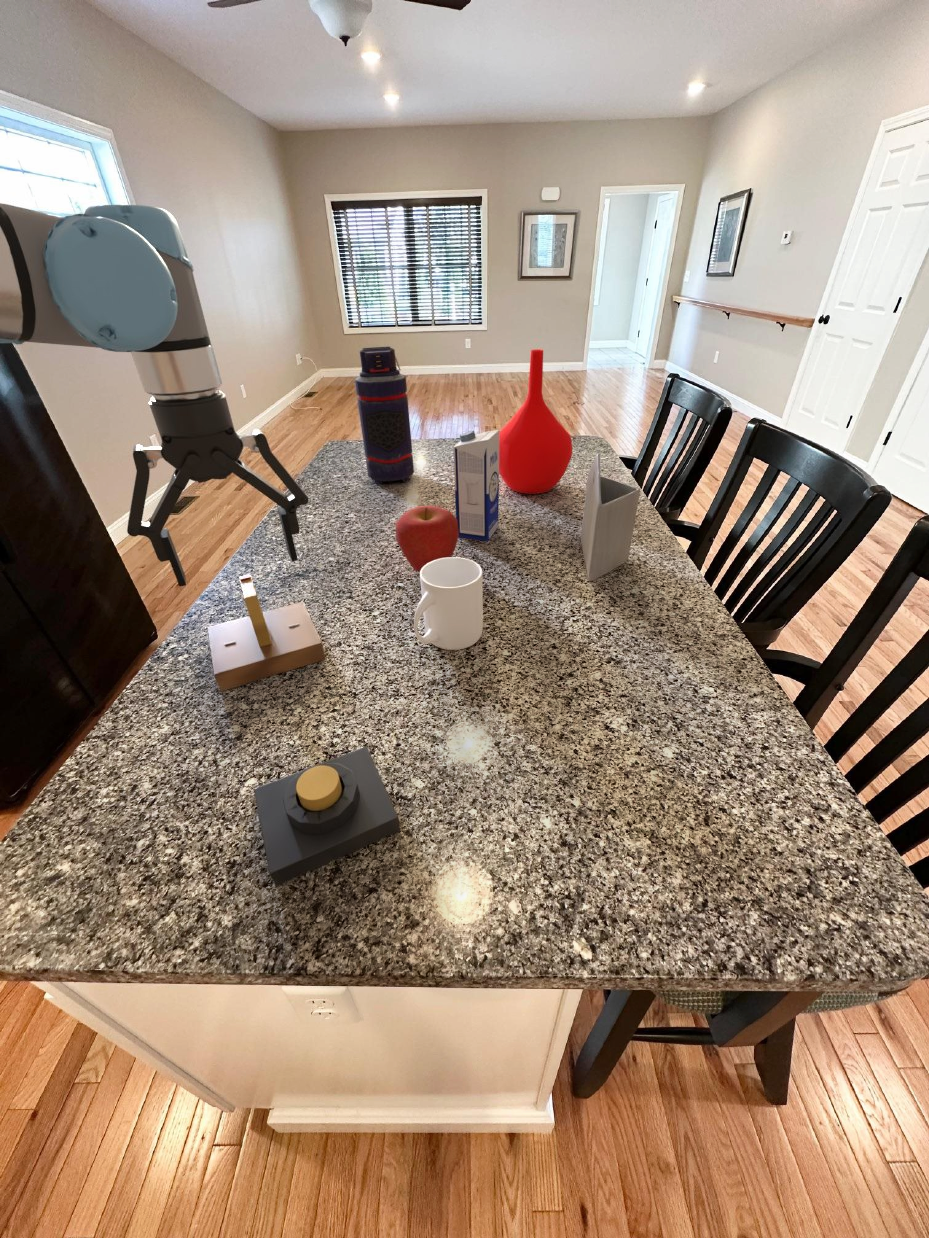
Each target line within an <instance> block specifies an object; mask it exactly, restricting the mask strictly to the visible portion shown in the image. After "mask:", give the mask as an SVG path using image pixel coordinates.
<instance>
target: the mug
mask: <svg viewBox="0 0 929 1238" xmlns="http://www.w3.org/2000/svg"><path fill="white" fill-rule="evenodd" d="M419 580H420V592H421V599H420V600H419V602H418V604H417V606H416V609H415V612H414V616H413V629H414V634H415V637H416V640H417V641H418V642H419V643H420V644H424V645H428V644H432V645H433V646H435V647H437V648H439V649H442V650H447V651H460V650H464V649H467V648H470V647H471V646H473V645H474V644H476V643H477V642H478V641H479V640H480V638H482V635H483V631H484V630H483V629H484V611H483V609H484V608H483V607H484V605H483V604H484V603H483V602H484V601H483V600H484V599H483V598H484V597H483V595H484V593H483V569H482V567H481V565H480V564H479V563H478V562H476V561H475V560H472V559H469V558H465V557H459V556H458V557H457V556H451V557H447V558H440V559H437V560H434V561H431V562H429V563H427V564H426V565H425V566H424V567H423V568H422V569H421V571H420V572H419ZM422 615H423V624H424V625H423V626H424V632H425V634H424V635H421V634H420V633H419V629H418V627H419V622H420V619H421V618H422Z"/></svg>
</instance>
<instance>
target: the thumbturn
mask: <svg viewBox="0 0 929 1238" xmlns="http://www.w3.org/2000/svg"><path fill="white" fill-rule="evenodd" d="M238 580H239V581H238V582H239V585H240V589H241V593H242V597H243V601H244V604H245V607H246V611H247V614H248V616H250V619H251V622H252V625H253V628H254V631H255V634H256V637H257V640H258V644H259V647H262V646H266V645H269V644H271V640H270V636H269V633H268V629H267V626H266V622H265V619H264V616H263V613H262V612H263V609H262V606H261V603H260V599H259V596H258V592H257V589H256V587H255V583H254V581H253V577H252V575H251V574H250V573H247V574H244V575H243V574H242V575H239V577H238Z"/></svg>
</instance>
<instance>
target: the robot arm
mask: <svg viewBox="0 0 929 1238" xmlns="http://www.w3.org/2000/svg"><path fill="white" fill-rule="evenodd" d="M185 243H186V242H185V241H184V237H183V235H182V233H181V230H180V227H179V223H178V222H177V220H176V218H175V217H174V216H173V214H172V213H170V212H169V211H167V210H166V209H164V208H161V207H159V206H158V207H157V206H151V205H140V204H97V205H90V206H88V207H86V209H85V210H84V212H83V213H75V214H71V215H65V216H59V215H54V214H52V213H51V214H50V213H45V212H41V211H37V210H33V209H28V208H24V207H20V206H16V205H11V204H7V203H1V202H0V344H15V345H23V344H25V343H34V344H35V343H36V344H49V345H60V346H61V345H62V346H71V347H72V346H74V347H85V348H86V347H87V348H97V349H98V348H99V349H101V350H104V351H107V352H113V353H114V352H115V353H130V354H131V356H132V357H131V358H132V360H133V362H134V365H135V368H136V371H137V374H138V376H139V380H140V382H141V385H142V388H143V390H144V392H145V393H146V394H149V395H151V396H152V397H150V398H149V401H148V405H149V407H150V410H151V413H152V416H153V419H154V422H155V425H156V429H157V431H158V435H159V437H160V440H161V445H160V446H145V445H142V444H139V443H138V444H135V445H134V446H133V449H132V458H133V462H134V467H135V471H136V473H135V479H134V485H133V490H132V496H131V502H130V508H129V515H128V520H127V528H126V533H127V535H129V536H130V537H138V536H142V537H145V538H148V540H149V542H150V543H151V545H152V548H153V550H154V553H155V556H156V557H157V560H158V561H160V562H161V563H163V562H167V561H169V563H170V566H171V568H172V571H173V574H174V577H175V579H176V582H177V584H178V586H179V587H185V586H187V580H186V579H187V577H186V573H185V571H184V568H183V565H182V563H181V561H180V558H179V554H178V552H177V550H176V547H175V544H174V542H173V539H172V536H171V534H170V532H169V528H164V527H165V526H166V523H167V521H168V520H169V519H170V518H169V517H170V516H171V514H172V512H173V510H174V508H175V506H176V504H177V503H178V500H179V499H180V497H181V495H182V494H183V491H184V490H185V489H186V487H187V485H188V484H189V481H192V482H196V483H198V484H200V483H201V484H202V483H206V482H209V481H210V480H226V479H228V478H229V476H231V474H234V475H235V476H236V477H238V478H239V479H240V480H242V481H243V482H245V483H247V484H249V485H250V486H252V487H253V488H254V489H255V490H257V491H259V492H260V493H261V494H262V495H264V496H265V497H267V498H268V499H269V500H270V501H272V502H273V503H275V504H276V505H277V506H279V507H277V508H276V509H277V512H278V517H279V520H280V525H281V530H282V532H283V533H282V534H283V537H284V542H285V546H286V550H287V554H288V556H289V558H290V560H291V562H295V561H298V555H297V551H296V546H295V542H294V537H293V535H297V534H300V530H301V529H300V526H299V520H298V516H297V510H298V508H299V507H300V506H304V505H307V504H308V503H309V497H308V496H307V494H306V493H305V491H304V490H303V489H302V487H301V486H300V485H299V484H298V482H297V481H296V480H295V479H294V477H293V476H292V475H291V473H289V472H288V470H287V469H286V467H285V466H284V465H283V464H282V463H281V461H280V460H279V459H278V457H277V456H276V455H275V454H274V453H273V451H272V449H271V447H270V445H269V442H268V439H267V437H266V435H265V433H264V432H263V431H262V429H260V428H256V429H253V430H252V432H251V433H247V434H243V435H239V434H238V433H237V432H236V430H235V427H234V422H233V418H232V415H231V412H230V411H231V410H230V408H229V404H228V400H227V397H226V394H225V393H224V392H223V391H222V390H220V389H219V388H220V387H221V386H222V385H223V382H222V377H221V374H220V370H219V367H218V363H217V359H216V355H215V352H214V348H213V344H212V342H211V339H210V338H211V337H210V335H209V331H208V326H207V322H206V319H205V315H204V311H203V308H202V303H201V299H200V295H199V292H198V291H199V290H198V288H197V283H196V281H195V276H194V267H193V263H191V259H190V256H189V253H188V250H187V247H186V244H185ZM245 447H247V448H249V449H250V451H251V452H252V453H254V454H259V453H260V455H261V457H262V459H263V460H264V461H265V463H266V464H267V465H268V467H270V468H271V470H272V471H273V472H274V473H275V475H276V476H277V477H278V479H279V480H280V481H281V482H282V483H283V485H284V486H285V488H287V489H288V490H289V492H290V493H291V495H289V496H288V495H286V494H285V493H284V492H283V491H281V490H280V489H278V488H277V487H276V486H274V485H273V484H272V483H270V482H269V481H268V480H266V479H265V478H264V477H262V476H261V475H260V474H259V473H257V472H256V471H254V470H253V469H252V468H251V467H249V466H248V465H247V464H246V463H244V462H243V461H242V460H241V459H240V458H241V454H242V452H243V450H244V448H245ZM161 459H163V460H164V461H165V462H166V463H168V464H169V465H170V466H171V467H173V468H174V471H173V473H172V475H171V479H170V480H169V482H168V484H167V486H166V488H165V490H164V492H163V494H162V495H161V497H160V499H159V502H158V503H157V505H156V506H155V509H154V511H153V513H152V515H151V517H150V518H149V520H148V521H143V516H144V510H145V504H146V500H147V493H148V487H149V481H150V476H151V473H150V471H151V469H155V468H156V467H157V465H158V461H159V460H161Z"/></svg>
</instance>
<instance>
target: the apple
mask: <svg viewBox="0 0 929 1238" xmlns="http://www.w3.org/2000/svg"><path fill="white" fill-rule="evenodd" d="M394 524H395V526H394V527H395V540H396V542H397V544H398V546H399V548H400V550H401V552H402V554H403V556H404V558H405V559H406V560H407V562H408V563H409V565H410V566H411V568H412V569H413V571H416V572H418V573H420V571H421V569H422V568H423V567H424V566H425V565H426V564H427V563H429V562H431V561H434V560H437V559H440V558H447V557H453V554H454V553H455V550H456V546H457V543H458V540H459V537H458V536H459V531H458V522H457V518H456V515H454V514H453V513H452V512H451V511H449V510H448V509H446V508H443V507H441V506H436V505H419V506H416V507H414V508H410V509H409V510H407V511H405V512H404V513H403V514H402V515H401V516H400V517H399V518H398V519H397V521H395V523H394Z"/></svg>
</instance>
